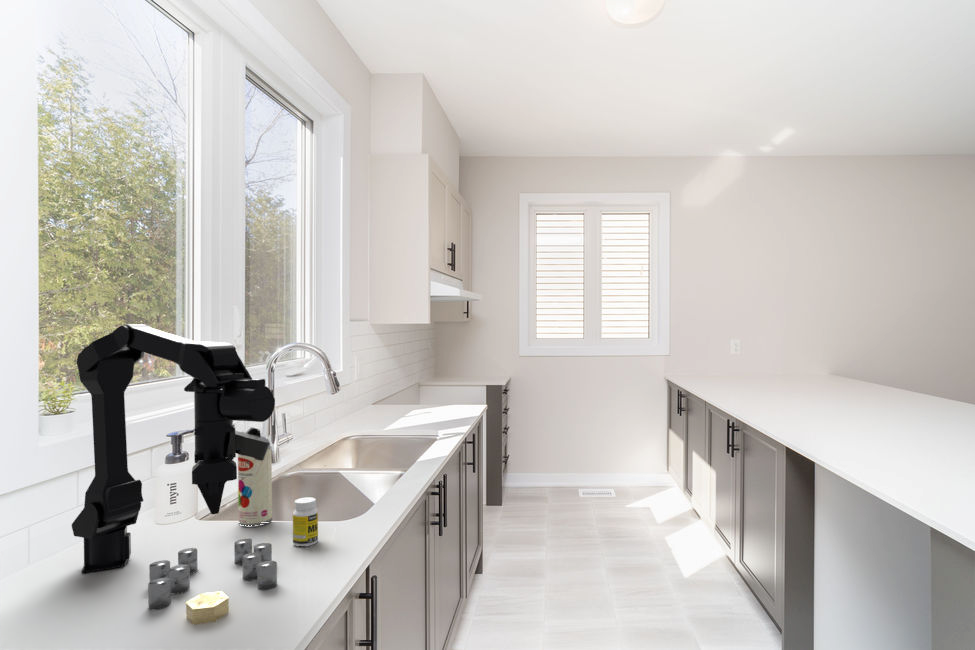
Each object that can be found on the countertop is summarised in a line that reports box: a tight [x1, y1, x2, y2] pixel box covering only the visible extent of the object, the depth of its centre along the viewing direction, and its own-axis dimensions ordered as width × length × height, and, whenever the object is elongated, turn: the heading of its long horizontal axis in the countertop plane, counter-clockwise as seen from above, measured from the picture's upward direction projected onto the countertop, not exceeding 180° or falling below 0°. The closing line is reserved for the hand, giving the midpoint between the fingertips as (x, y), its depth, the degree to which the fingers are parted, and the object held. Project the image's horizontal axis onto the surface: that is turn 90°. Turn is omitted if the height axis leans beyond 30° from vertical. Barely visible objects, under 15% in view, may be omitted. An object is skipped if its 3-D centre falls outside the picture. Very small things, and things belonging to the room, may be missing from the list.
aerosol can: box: [237, 435, 273, 526], centre depth 128 cm, size 7×7×20 cm
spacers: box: [147, 538, 278, 610], centre depth 98 cm, size 19×16×4 cm
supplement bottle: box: [292, 496, 319, 547], centre depth 115 cm, size 5×5×8 cm
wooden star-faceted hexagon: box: [185, 591, 230, 625], centre depth 86 cm, size 5×6×2 cm
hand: (215, 513), depth 96 cm, fingers closed
